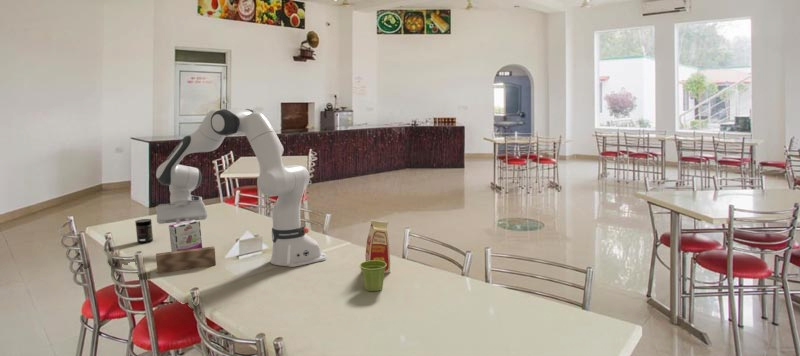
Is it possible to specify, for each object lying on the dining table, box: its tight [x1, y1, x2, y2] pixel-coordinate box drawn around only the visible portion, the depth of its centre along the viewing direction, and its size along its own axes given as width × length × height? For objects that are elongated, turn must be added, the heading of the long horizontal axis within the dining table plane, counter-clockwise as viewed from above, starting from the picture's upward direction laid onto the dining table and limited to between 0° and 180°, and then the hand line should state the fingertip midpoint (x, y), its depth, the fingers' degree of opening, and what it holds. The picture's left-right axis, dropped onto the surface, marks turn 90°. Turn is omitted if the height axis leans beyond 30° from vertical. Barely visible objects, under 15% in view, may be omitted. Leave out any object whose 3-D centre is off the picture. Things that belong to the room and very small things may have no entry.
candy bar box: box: [168, 220, 203, 252], centre depth 197 cm, size 11×5×16 cm, turn 145°
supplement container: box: [135, 218, 154, 244], centre depth 226 cm, size 7×7×10 cm
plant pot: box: [358, 260, 387, 292], centre depth 166 cm, size 9×9×9 cm
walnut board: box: [155, 246, 217, 274], centre depth 189 cm, size 21×3×7 cm, turn 115°
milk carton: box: [365, 219, 391, 274], centre depth 184 cm, size 9×9×20 cm
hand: (183, 228), depth 208 cm, fingers closed
